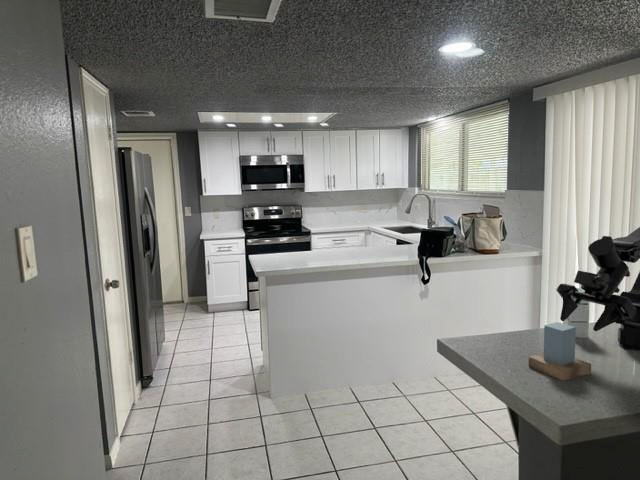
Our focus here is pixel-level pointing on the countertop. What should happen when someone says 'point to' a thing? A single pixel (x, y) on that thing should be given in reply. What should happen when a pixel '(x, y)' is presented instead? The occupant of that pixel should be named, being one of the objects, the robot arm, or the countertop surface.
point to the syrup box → (580, 318)
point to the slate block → (559, 343)
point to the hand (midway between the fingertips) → (577, 325)
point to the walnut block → (560, 367)
